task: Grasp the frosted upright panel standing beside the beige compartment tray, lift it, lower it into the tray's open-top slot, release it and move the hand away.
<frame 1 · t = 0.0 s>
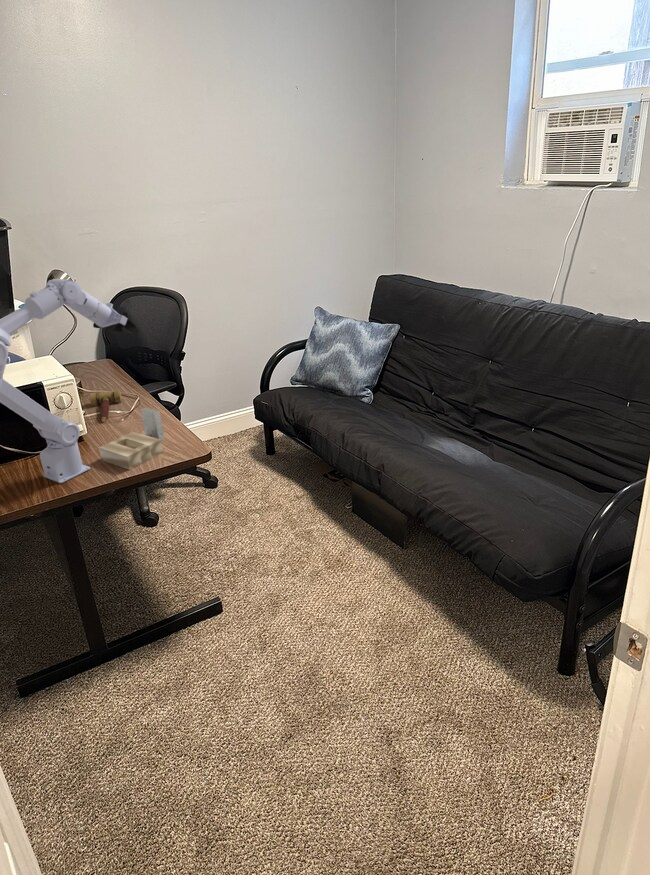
hand: (128, 331, 173), 32 cm above the table, tool tilted 50°, fingers open, 7 cm apart
frosted upright panel: (155, 437, 184), on the table
beige compartment tray: (132, 456, 173), on the table
gavel: (106, 413, 206), on the table
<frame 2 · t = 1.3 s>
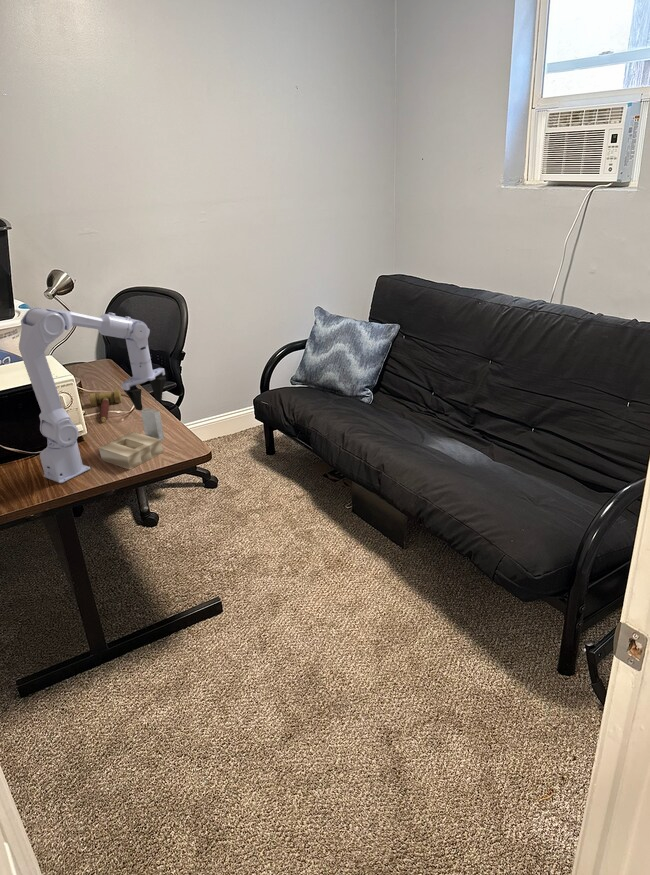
hand: (149, 405, 180), 11 cm above the table, tool pointing down, fingers open, 7 cm apart
nothing on the table moved.
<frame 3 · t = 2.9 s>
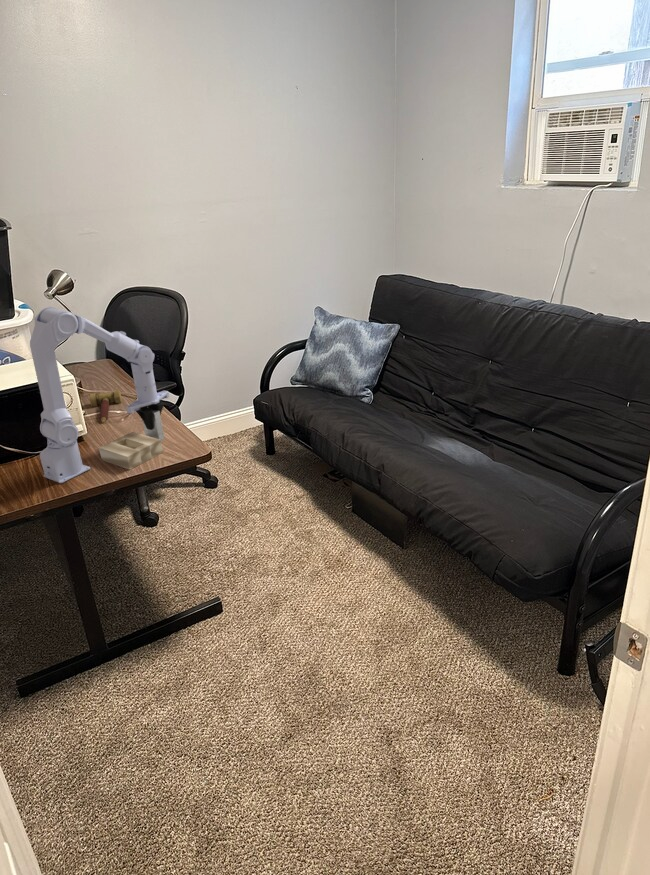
hand: (153, 427, 183), 3 cm above the table, tool pointing down, fingers closed on frosted upright panel, 2 cm apart
frosted upright panel: (155, 437, 184), on the table, touching gripper
everything else where it was.
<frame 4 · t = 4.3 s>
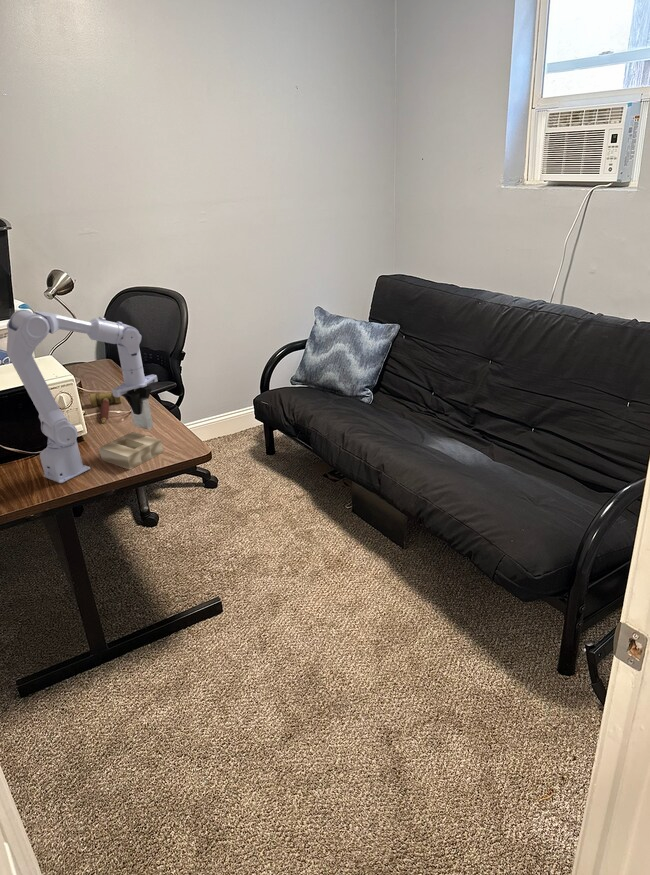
hand: (140, 412, 176), 10 cm above the table, tool pointing down, fingers closed on frosted upright panel
frosted upright panel: (143, 426, 178), point 6 cm above the table, touching gripper
everything else where it was.
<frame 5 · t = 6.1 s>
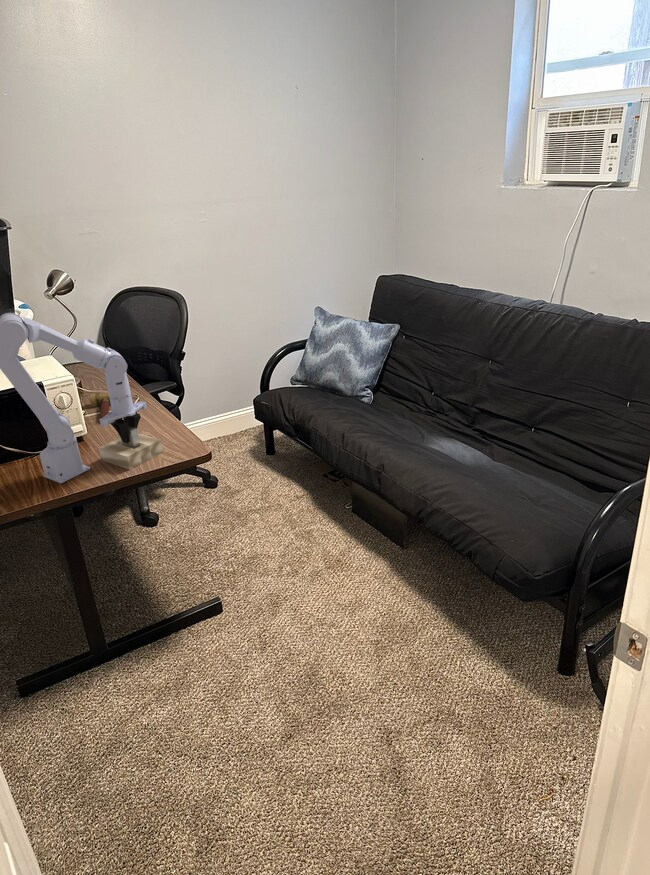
hand: (129, 440, 171), 5 cm above the table, tool pointing down, fingers closed on frosted upright panel, 2 cm apart
frosted upright panel: (132, 456, 173), resting in beige compartment tray, touching gripper
everything else where it was.
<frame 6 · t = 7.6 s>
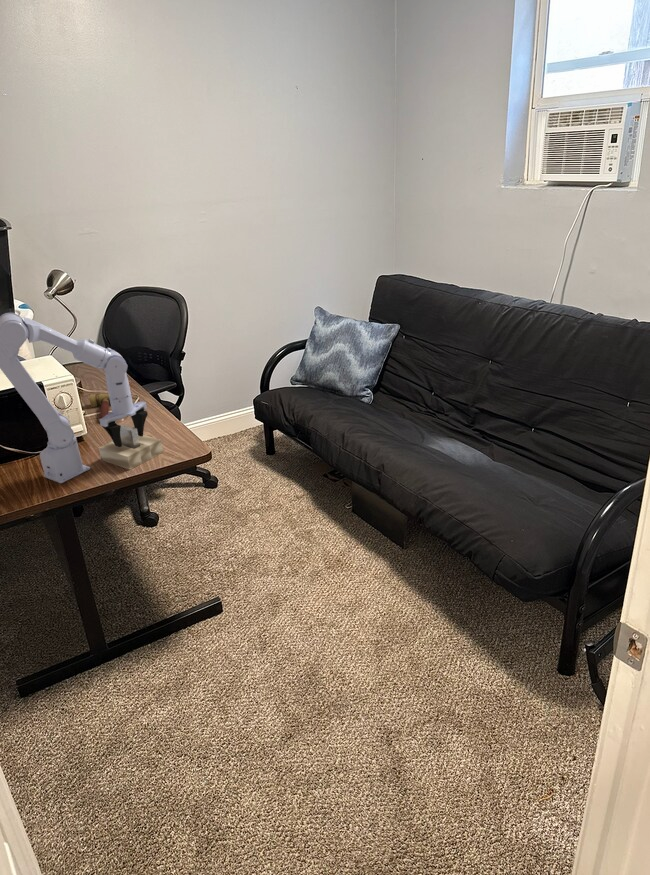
hand: (129, 440, 171), 5 cm above the table, tool pointing down, fingers open, 7 cm apart
frosted upright panel: (132, 456, 173), resting in beige compartment tray
everything else where it was.
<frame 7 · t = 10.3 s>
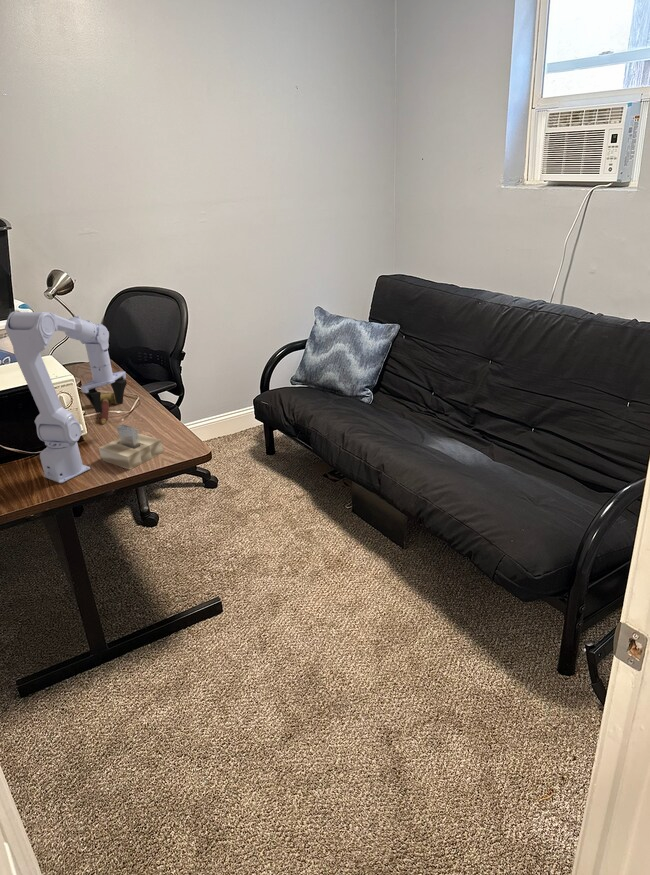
hand: (109, 407, 183), 9 cm above the table, tool pointing down, fingers open, 7 cm apart
at the end: frosted upright panel 0.0 cm off-centre on the beige compartment tray, point 0.0 cm above the beige compartment tray's base; frosted upright panel tilted 0°; the gripper is holding nothing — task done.
